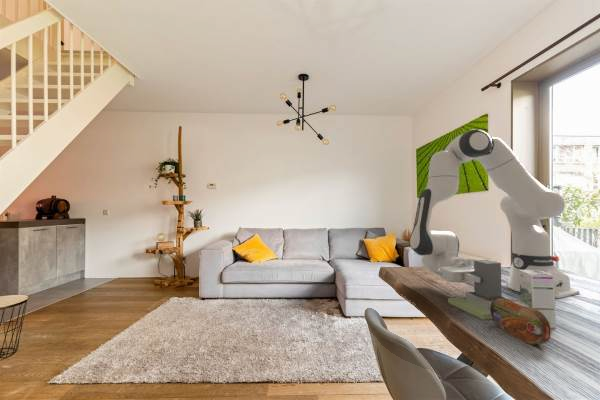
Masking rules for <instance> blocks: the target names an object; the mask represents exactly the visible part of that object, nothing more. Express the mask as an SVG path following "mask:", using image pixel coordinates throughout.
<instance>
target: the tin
mask: <svg viewBox="0 0 600 400" xmlns="http://www.w3.org/2000/svg"><path fill="white" fill-rule="evenodd" d="M511 299H512V298H510V299H506V298H496V299H494V300H493V301H492V303H491V307H490V312H491V316H492V319H491V320H492V321H493V323H494V324H495V325H496V326H497V328H499V329H500V330H502V331H503V332H505V333H507V334H509V335H511V336H512V337H515V338H517V339H518V340H520V341H521V342H524V343H525V344H529V345H543V344H546V343H548V342H549V340H550V338H551V333H552V332H551V331H552V330H551V328H550V324H549V322H548V320H547V318H546V317H545V316H544V315H543V314H542V313H541V312H540V311H538V310H537V309H534V308H532V307H529V306H526V305H524V304H521V302H518V301H516V300H514V299H512V300H511Z"/></svg>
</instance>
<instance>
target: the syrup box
mask: <svg viewBox="0 0 600 400" xmlns="http://www.w3.org/2000/svg"><path fill="white" fill-rule="evenodd" d="M519 275H520V292H519V296H520V300H519V301H520V302H519V303H521V304H524V305H526V306H529V307H532V308H534V309H537V310H538V311H540V312H541V313H542V314H543V315H544V316H545V317H546V318H547V320H548V322H549V324H550V329H557V314H556V298H555V290H554V275H552V274H549V273H546V272H543V271H540V270H519Z"/></svg>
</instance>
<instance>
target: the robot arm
mask: <svg viewBox="0 0 600 400" xmlns="http://www.w3.org/2000/svg"><path fill="white" fill-rule="evenodd" d="M473 160H475V161H477V162H478V163H480V164H481V165H482V167H483V169H484V170H485V172H486V173H487V175H488V176H489V178H490V179H491V181H492V182H493V184H494V185H495V186H496V187H497V188H498V189H499V190H501V191H503V192H504V193H506V195H504V196H503V198H501V201H500V205H499V207H500V209H501V210H502V212H503V213H504V214H505V216H506V219H507V221H508V224H509V228H510V231H511V245H512V246H511V247H512V252H511V255H510V258H511V262H512V263H511V265H510V269H509V279H508V280H507V285H508V286H507V287H508V288H509V289H511V290H513V291H515V292H519V293H520V275H519V270H540V271H543V272H546V273H549V274H552V275H554V290H555V299H561V298H565V297H570V296H574V295H578V294H580V290H579V289H576V288H575V287H571V281H570V278H569V277H570V276H569V275H567V274H565V273H564V272H563V271H562V270H561V269H559V268H558V267H557V266H555V263H554V262H556V263H557V262H558V263H559V256H556V255H555V256H554V255H551V254H550V235H549V233H548V232H547V231H546V230H545V229H544V227H543V225H542V223H541V220H546V219H551V218H556V217H557V216H560V215H561V214H562V213H563V212H564V210H565V206H566V204H565V200H564V198H563V196H562V195H561V194H559V193H558V192H555V191H553V190H551V189H550V188H548V187H546V186H545V185H544V184H542V183H541V182H540V180H539V181H538V180H537V179H536V178H535V177H534V176H533V175H532V174H531V173H530V172H529V171H528V170H527V169H526V167H525V166H524V165H523V164H522V162H521V161H520V159H519V158H518V156H517V155H516V154H515V153H514V150H512V149H511V148H510V147H509V145H507V143H505V142H504V141H503V140H502V139H501V138H500V137H496V136H495V137H493V136H490V134H489V133H487V132H486V131H484V130H483V129H470V130H468V131H465V132H464V133H462V134H459V135H458V136H455V138H454V139H453V140H451V141H450V142H448V143H447V144H446V145H445V147H444V148H443V150H440V151H437V152H435V153H433V155H432V156H431V157H430V162H429V167H428V175H427V177H428V178H427V179H428V180H427V185H426V187H425V188H424V190H422V191H421V193H420V195H419V198H418V201H417V207H416V213H415V218H414V222H413V228H412V231H411V234H410V236H409V246H410V248H411V250H412V251H413V252H415V254H417V255H418V256H422V257H421V263H422V266H423V267H424V268H425V269H426V270H427V271H429V272H430V273H432V274H435V275H437V276H438V277H440V278H441V279H442V280H444V281H447V282H450V283H464V282H473V283H474V282H478V283H481V282H483V277H480V276H475V275H474V260H475V259H473V258H472V259H468V258H465V257H464V258H463V257H458V255H459V251H460V240H459V238H458V236H457V235H456V234H455V232H453V231H451V230H434V229H433V230H432V229H430V222H431V218H432V211H433V209H434V207H435V206H436V205H438V204H439V203H442V202H444V201H448V200H449V199H452V197H454V196H455V195H456V194H457V193H458V191H459V188H460V187H459V186H460V166H461V165H462V164H465V163H466V164H467V163H469V162H471V161H473Z"/></svg>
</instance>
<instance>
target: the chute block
mask: <svg viewBox="0 0 600 400" xmlns="http://www.w3.org/2000/svg"><path fill="white" fill-rule="evenodd" d="M473 260H474V275H475V276H480V277H483V282H481V283H478V282H474V281H473V283H474V285H473V286H474V292H475V295H477V296H479V297H482V298H484V299H487V300H494V299H496V298H502V296H503V295H502V263H501V262H500V261H499V262H497V261H494V260H489V259H478V260H477V259H473ZM501 295H502V296H501Z"/></svg>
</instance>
